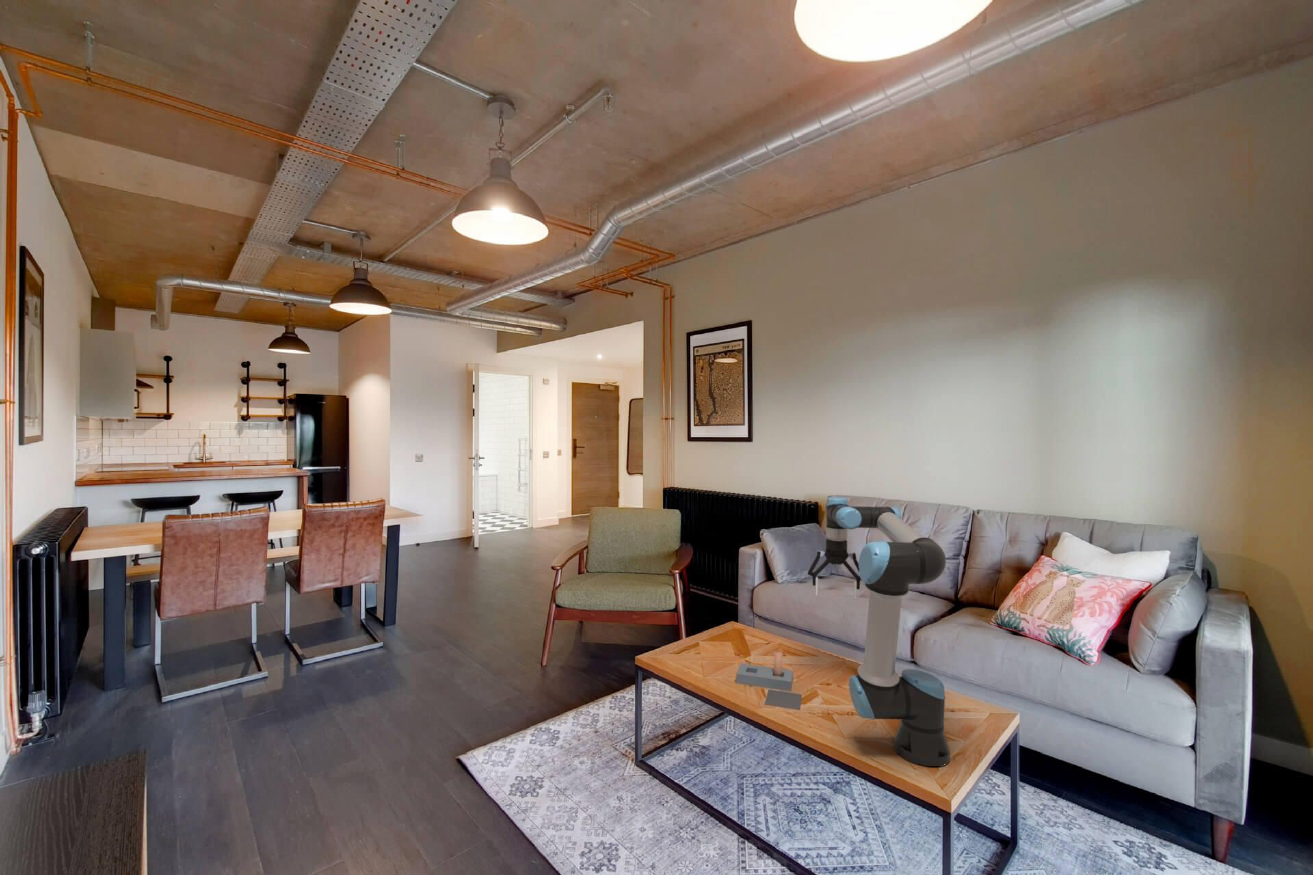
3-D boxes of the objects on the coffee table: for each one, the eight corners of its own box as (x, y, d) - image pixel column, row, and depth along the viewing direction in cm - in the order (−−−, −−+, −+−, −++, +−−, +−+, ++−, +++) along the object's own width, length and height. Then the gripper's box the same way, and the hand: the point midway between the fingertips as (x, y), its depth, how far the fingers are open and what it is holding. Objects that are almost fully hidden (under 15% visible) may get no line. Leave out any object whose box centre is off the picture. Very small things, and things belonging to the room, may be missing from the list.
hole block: (791, 692, 205) (791, 681, 205) (736, 684, 211) (736, 673, 211) (793, 680, 214) (793, 670, 214) (740, 673, 220) (740, 663, 220)
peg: (781, 686, 209) (782, 654, 209) (773, 685, 210) (774, 653, 210) (782, 683, 212) (782, 651, 212) (774, 682, 213) (774, 650, 213)
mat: (800, 711, 191) (800, 709, 191) (764, 705, 195) (764, 704, 195) (802, 695, 203) (802, 694, 203) (768, 690, 206) (768, 689, 206)
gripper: (871, 539, 209) (870, 596, 209) (802, 535, 216) (801, 590, 216) (873, 543, 202) (872, 602, 202) (801, 538, 209) (800, 595, 209)
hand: (835, 596), depth 209 cm, fingers open, 13 cm apart
